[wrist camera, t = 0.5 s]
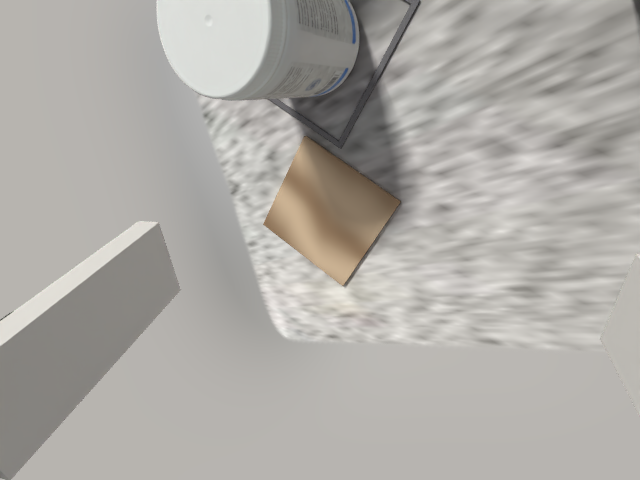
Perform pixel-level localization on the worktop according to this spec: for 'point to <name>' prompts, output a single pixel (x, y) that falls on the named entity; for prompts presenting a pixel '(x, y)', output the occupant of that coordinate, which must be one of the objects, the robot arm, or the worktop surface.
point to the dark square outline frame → (414, 2)
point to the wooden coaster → (329, 211)
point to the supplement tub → (259, 46)
